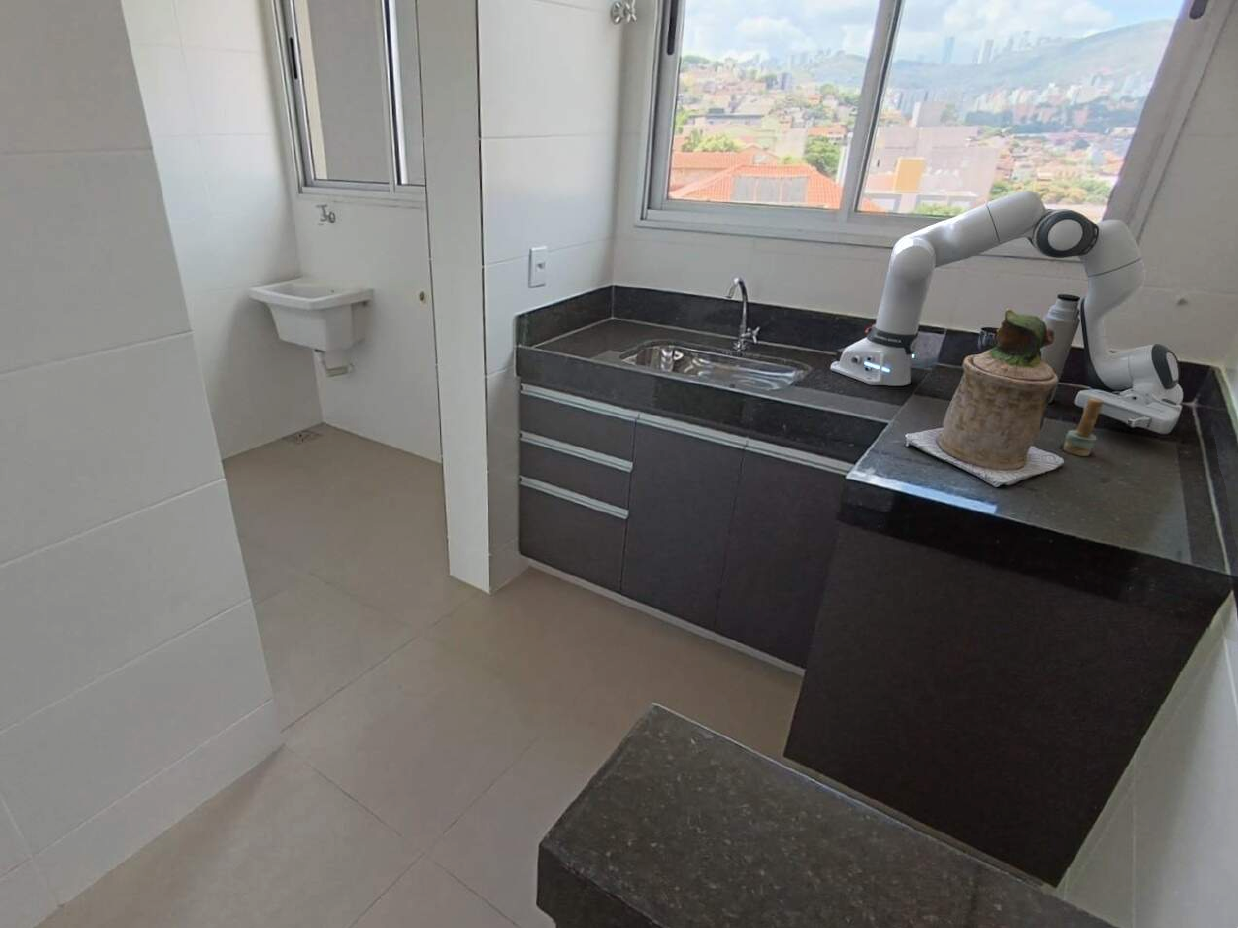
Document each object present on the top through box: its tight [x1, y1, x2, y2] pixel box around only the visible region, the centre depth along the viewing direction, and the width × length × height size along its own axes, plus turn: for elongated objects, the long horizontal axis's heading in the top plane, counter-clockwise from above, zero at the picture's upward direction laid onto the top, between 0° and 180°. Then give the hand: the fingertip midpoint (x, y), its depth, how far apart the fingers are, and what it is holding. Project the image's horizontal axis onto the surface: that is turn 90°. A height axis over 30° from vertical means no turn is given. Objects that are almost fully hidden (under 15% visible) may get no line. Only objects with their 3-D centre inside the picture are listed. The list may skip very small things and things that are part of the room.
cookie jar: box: [904, 308, 1065, 488], centre depth 143 cm, size 25×25×32 cm
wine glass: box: [977, 326, 1000, 354], centre depth 192 cm, size 8×8×15 cm
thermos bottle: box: [1040, 293, 1081, 404], centre depth 179 cm, size 8×8×28 cm
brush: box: [1063, 398, 1104, 457], centre depth 152 cm, size 6×6×12 cm
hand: (1108, 415), depth 156 cm, fingers open, 8 cm apart
